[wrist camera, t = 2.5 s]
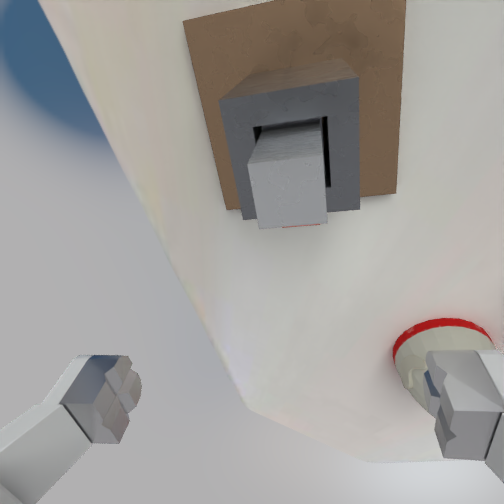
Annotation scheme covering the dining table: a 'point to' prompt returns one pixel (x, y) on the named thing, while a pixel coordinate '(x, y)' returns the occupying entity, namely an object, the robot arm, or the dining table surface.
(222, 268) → the dining table surface
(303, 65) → the post sleeve
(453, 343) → the kitchen timer
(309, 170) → the steel post
